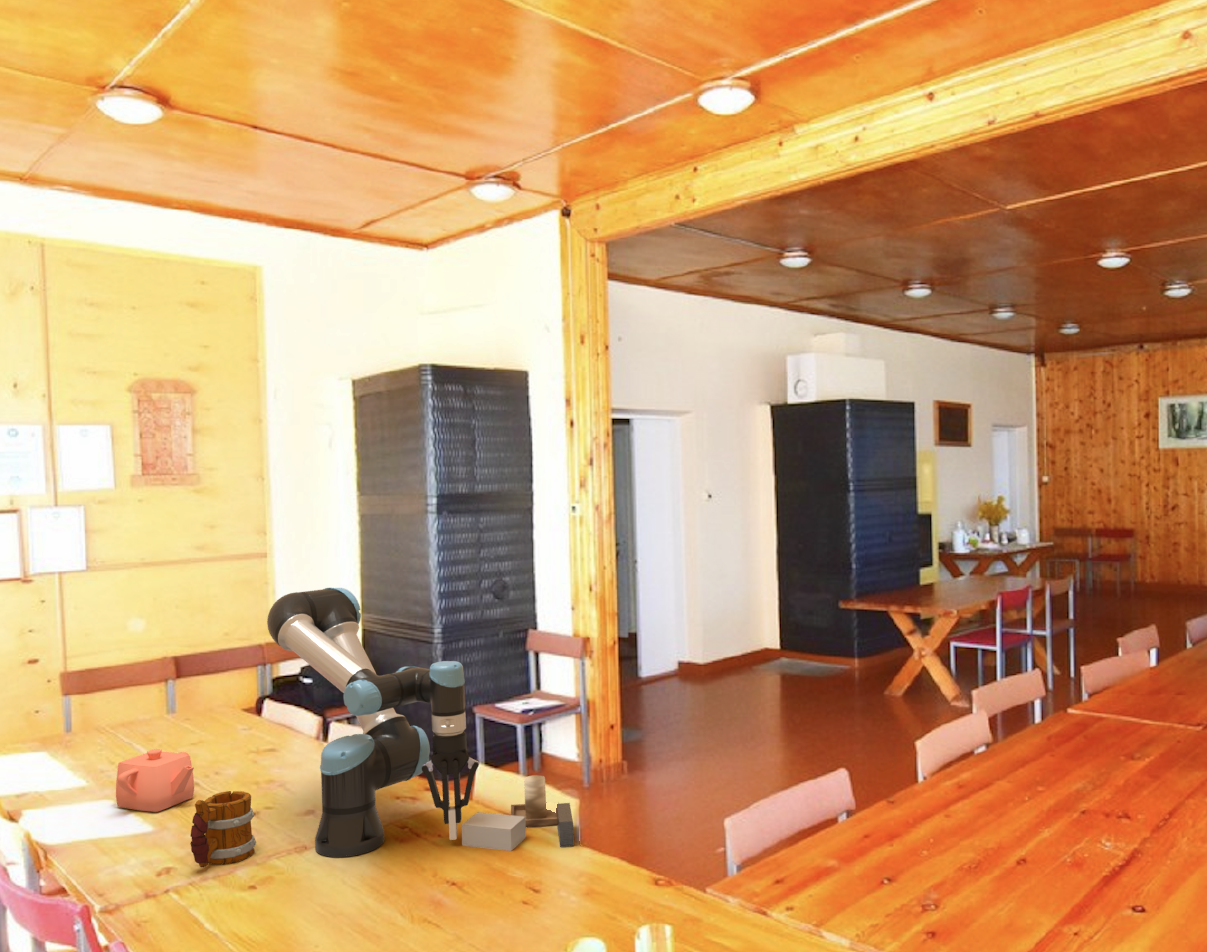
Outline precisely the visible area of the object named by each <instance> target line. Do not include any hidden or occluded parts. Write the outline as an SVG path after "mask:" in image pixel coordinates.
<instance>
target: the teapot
mask: <svg viewBox="0 0 1207 952" xmlns="http://www.w3.org/2000/svg"><path fill="white" fill-rule="evenodd" d="M193 771H194V767H193V764H192V759H191V755H190V754H189V753H188V752H187V751H186V752H184V751H182V752H171V751H163V750H162V749H160V748H156V749H150V750H148V751H146V753H143V754H139V755H137V756H134V757H131V758H128V759H125V760H123V761H120V762H118V766H117V772H116V783H115V798H116V799H115V800H116V805H117V807H119V808H123V809H130V810H136V811H143V812H155V813H157V812H161V811H163V810H165V809H168V808H171V807H173V806H176V805H178V804H181V803H182V802H183V803H184V802H185V801H187V800H190V799H192V798H193V797H194V791H195V780H194V772H193Z"/></svg>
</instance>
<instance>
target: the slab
mask: <svg viewBox="0 0 1207 952" xmlns="http://www.w3.org/2000/svg"><path fill="white" fill-rule="evenodd" d="M525 839H527V829H526V820H525V817H523V816H513V815H511V814H502V813H501V814H500V813H492V812H491V813H490V812H479V811H478V812H476V813H475V814H474V815H472V816H470V818H468V819H467V820H465V821H464V822H462V824H461V846H463V847H472V848H479V849H480V848H481V849H490V850H491V849H492V850H499V851H507V852H508V851H509V852H512V851H513V850H514V849H515V848H517V846H519V845H520V844H521V843H522V842H523V841H524V840H525Z"/></svg>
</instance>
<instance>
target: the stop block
mask: <svg viewBox="0 0 1207 952" xmlns="http://www.w3.org/2000/svg"><path fill="white" fill-rule="evenodd" d="M557 834H558V842H559V848H566V847H574V846H575V845H574V821H573V814H572V808H571V803H570V802H563V803H558V804H557Z"/></svg>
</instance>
